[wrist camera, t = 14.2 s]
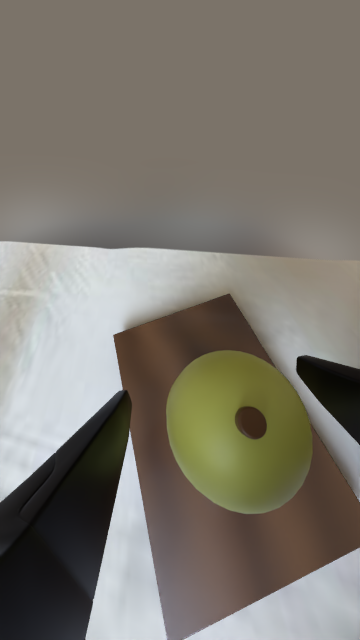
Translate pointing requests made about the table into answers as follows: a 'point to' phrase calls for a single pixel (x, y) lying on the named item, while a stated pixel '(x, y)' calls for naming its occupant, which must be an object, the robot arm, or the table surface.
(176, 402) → the pear
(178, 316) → the walnut board
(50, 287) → the table surface
